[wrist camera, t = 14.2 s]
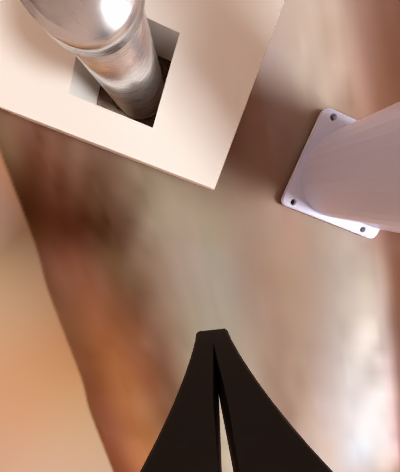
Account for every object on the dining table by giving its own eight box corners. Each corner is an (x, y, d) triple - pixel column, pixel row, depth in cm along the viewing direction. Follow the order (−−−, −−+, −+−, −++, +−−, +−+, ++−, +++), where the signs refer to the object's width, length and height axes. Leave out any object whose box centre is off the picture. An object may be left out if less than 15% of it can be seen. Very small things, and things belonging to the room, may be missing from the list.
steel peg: (175, 66, 14) (150, -100, 6) (162, 130, 15) (127, 58, 7) (113, 46, 14) (5, -155, 6) (105, 114, 14) (1, 18, 7)
